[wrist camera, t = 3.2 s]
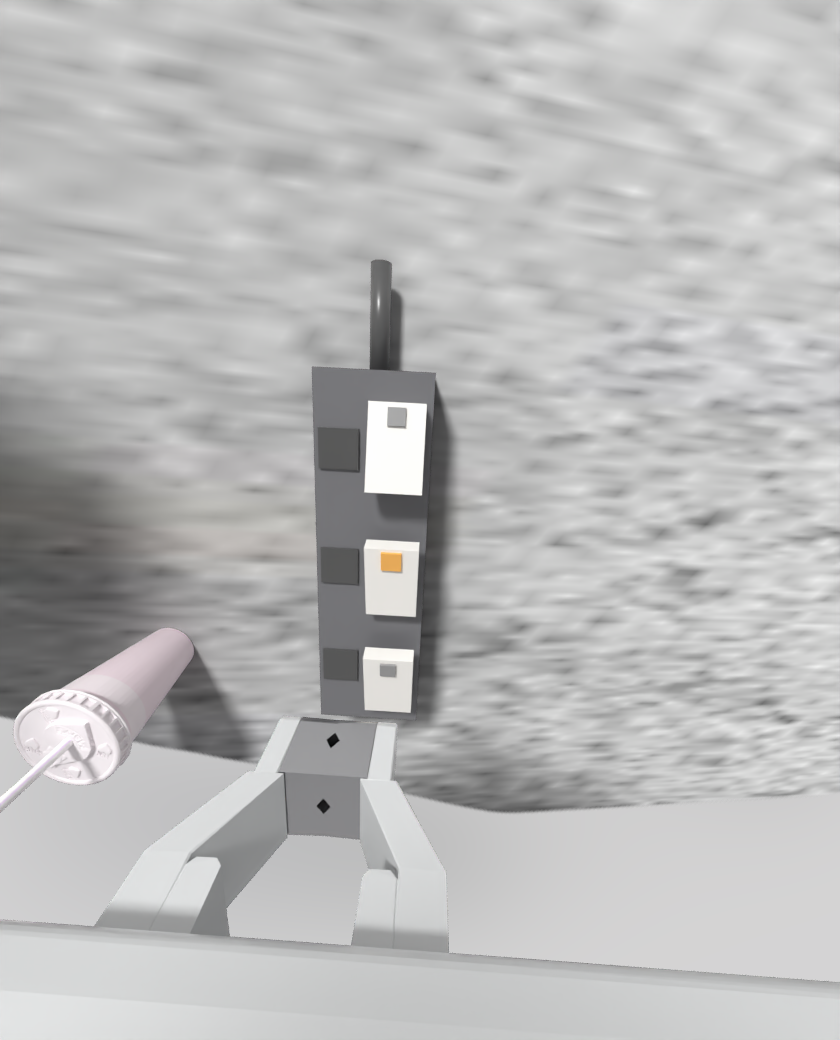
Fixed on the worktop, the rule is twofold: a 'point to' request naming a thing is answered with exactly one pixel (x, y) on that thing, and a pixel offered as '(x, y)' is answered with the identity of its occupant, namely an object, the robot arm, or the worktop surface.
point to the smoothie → (98, 713)
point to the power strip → (362, 513)
